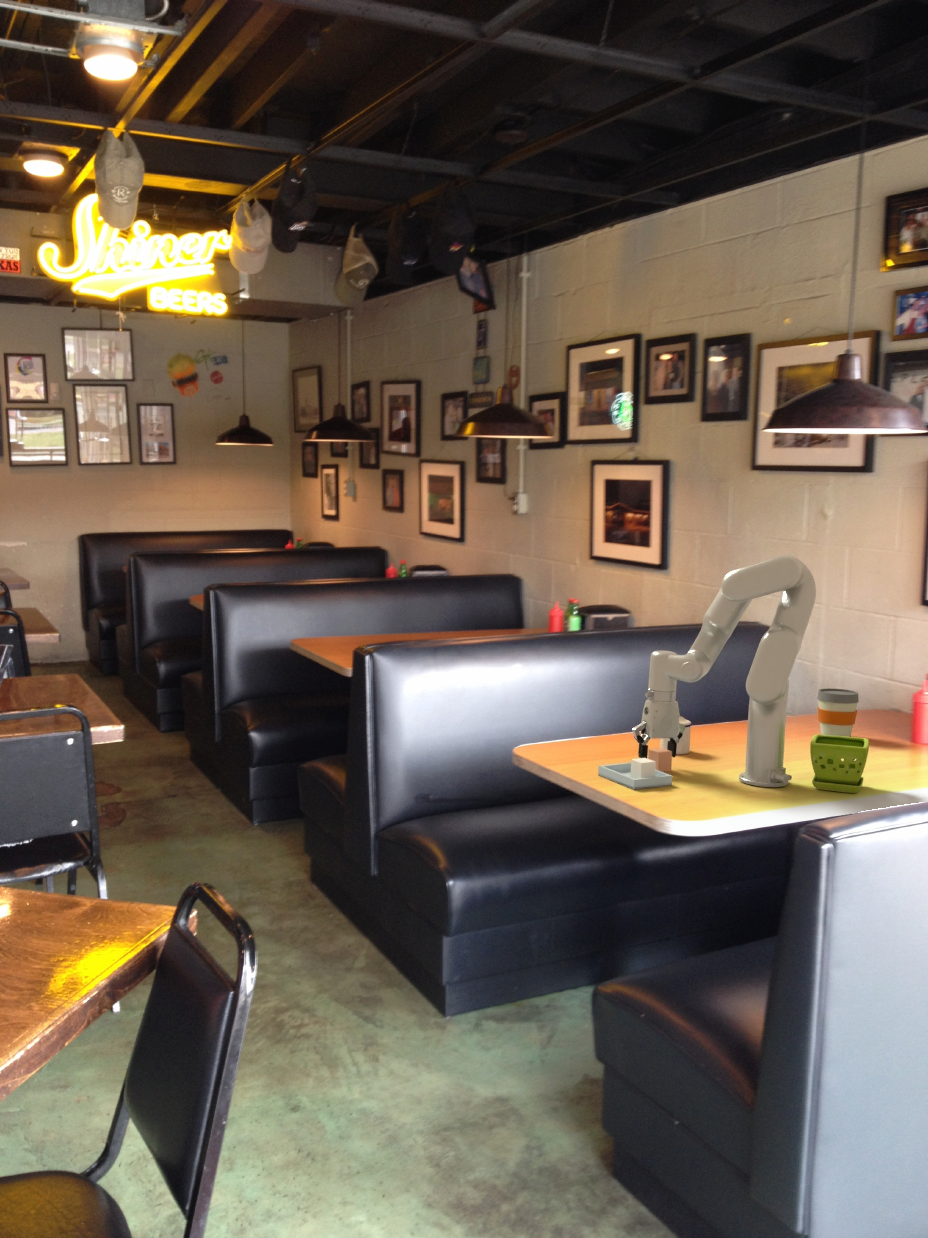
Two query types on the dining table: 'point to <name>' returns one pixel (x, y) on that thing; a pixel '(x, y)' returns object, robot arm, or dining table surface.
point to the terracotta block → (661, 758)
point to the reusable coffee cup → (837, 711)
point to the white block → (642, 768)
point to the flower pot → (838, 762)
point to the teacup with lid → (684, 741)
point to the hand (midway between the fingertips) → (657, 757)
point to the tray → (622, 776)
